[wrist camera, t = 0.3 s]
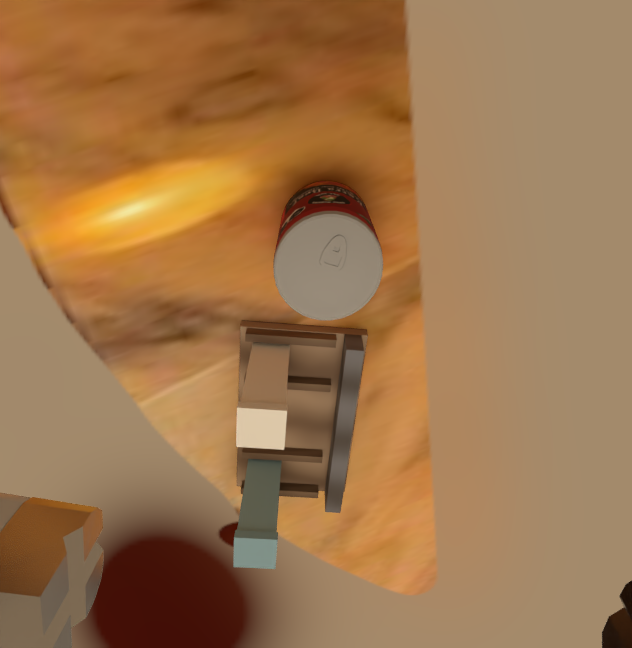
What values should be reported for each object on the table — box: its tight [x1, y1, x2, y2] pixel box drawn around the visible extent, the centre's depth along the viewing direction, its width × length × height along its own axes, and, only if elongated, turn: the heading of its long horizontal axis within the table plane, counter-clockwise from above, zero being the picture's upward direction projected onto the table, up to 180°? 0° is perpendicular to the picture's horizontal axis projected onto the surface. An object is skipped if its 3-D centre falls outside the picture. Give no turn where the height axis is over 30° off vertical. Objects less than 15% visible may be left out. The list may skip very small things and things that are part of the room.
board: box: [237, 321, 368, 513], centre depth 53 cm, size 20×12×4 cm, turn 175°
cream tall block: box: [236, 342, 290, 450], centre depth 45 cm, size 4×4×11 cm
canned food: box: [274, 181, 383, 320], centre depth 41 cm, size 8×8×11 cm
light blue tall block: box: [234, 459, 282, 569], centre depth 52 cm, size 4×4×11 cm
